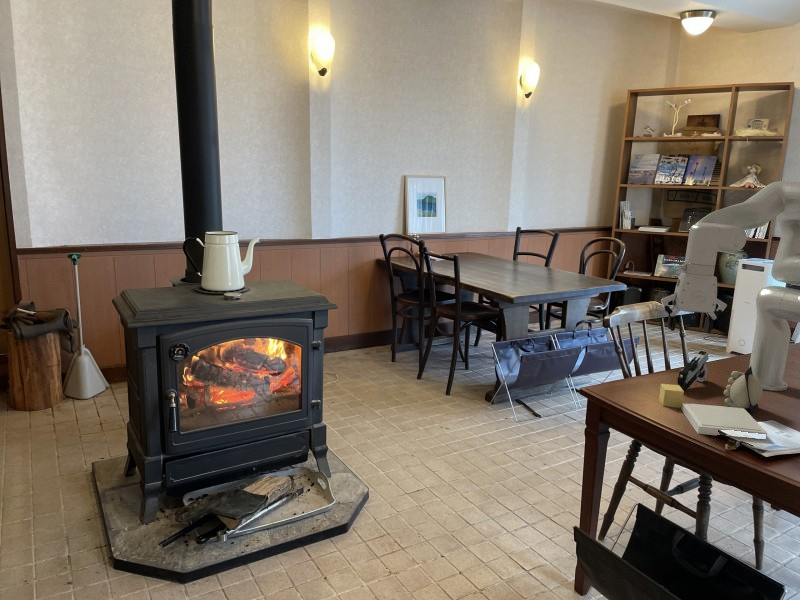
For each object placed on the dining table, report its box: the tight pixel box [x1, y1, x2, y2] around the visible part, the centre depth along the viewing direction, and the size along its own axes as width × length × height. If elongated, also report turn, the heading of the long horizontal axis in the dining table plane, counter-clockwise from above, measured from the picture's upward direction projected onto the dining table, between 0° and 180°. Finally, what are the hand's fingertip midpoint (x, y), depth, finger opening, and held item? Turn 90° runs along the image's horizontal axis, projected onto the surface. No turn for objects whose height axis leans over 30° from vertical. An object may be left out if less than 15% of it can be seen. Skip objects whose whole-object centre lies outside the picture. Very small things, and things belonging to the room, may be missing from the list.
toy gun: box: [677, 349, 709, 393], centre depth 187 cm, size 2×18×11 cm, turn 133°
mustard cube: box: [658, 383, 685, 408], centre depth 172 cm, size 5×5×5 cm
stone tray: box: [681, 402, 768, 436], centre depth 159 cm, size 16×16×2 cm
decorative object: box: [723, 366, 764, 417], centre depth 169 cm, size 12×10×10 cm
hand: (689, 330), depth 167 cm, fingers open, 9 cm apart
